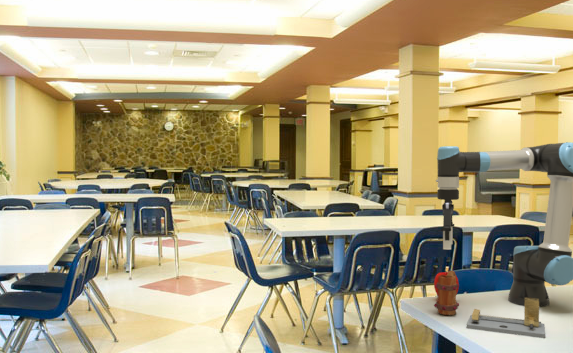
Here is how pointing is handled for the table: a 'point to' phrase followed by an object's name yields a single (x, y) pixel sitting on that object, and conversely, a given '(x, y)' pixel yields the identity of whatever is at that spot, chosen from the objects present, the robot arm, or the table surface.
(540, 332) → the flange plate
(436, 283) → the apple
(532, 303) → the block
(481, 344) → the table surface
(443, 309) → the mug
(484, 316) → the beam
